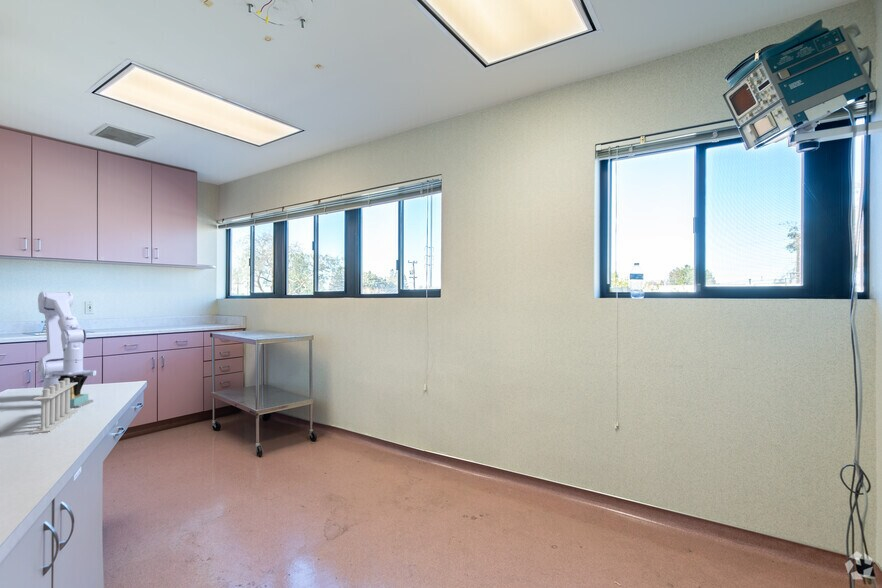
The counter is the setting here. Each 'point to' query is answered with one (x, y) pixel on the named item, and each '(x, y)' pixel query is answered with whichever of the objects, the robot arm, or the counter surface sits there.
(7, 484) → the counter surface
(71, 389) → the plank
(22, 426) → the counter surface
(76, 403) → the stand
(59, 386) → the test tube rack
